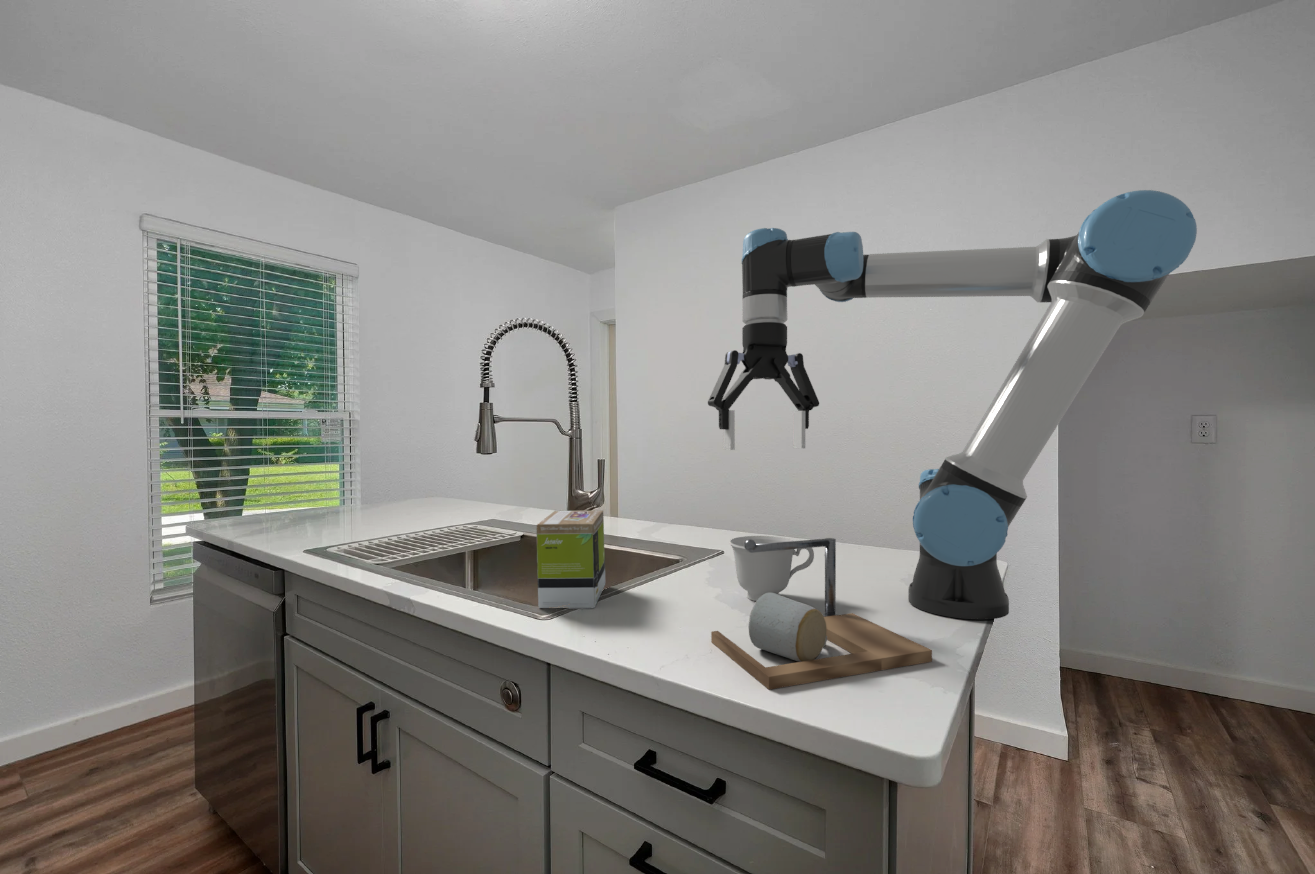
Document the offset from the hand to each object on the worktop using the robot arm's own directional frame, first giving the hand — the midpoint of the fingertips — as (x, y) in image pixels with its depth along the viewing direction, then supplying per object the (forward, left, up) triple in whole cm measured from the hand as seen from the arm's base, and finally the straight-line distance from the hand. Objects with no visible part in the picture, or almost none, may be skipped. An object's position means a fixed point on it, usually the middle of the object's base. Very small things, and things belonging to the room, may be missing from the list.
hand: (764, 449), depth 100 cm
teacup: (-3, -3, -27) cm, 27 cm away
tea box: (+30, -16, -27) cm, 43 cm away
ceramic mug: (+7, +20, -27) cm, 34 cm away
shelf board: (+4, +21, -27) cm, 34 cm away
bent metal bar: (+1, +11, -27) cm, 29 cm away
